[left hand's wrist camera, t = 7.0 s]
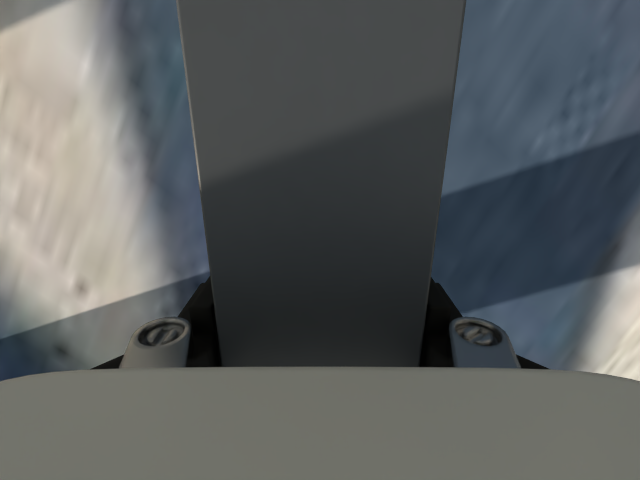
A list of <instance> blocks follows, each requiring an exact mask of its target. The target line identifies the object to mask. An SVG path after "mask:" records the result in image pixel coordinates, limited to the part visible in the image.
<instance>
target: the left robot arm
mask: <svg viewBox="0 0 640 480" xmlns="http://www.w3.org/2000/svg"><path fill="white" fill-rule="evenodd" d="M0 480H640V381H636V380H632V379H628V378H622V377H617V376H612V375H606V374H598V373H590V372H581V371H566V370H551V369H548V368H546V367H544V366H541V365H539V364H537V363H534V362H532V361H530V360H528V359H525V358H523V357H521V356H518V355H516V354H515V352H514V349H513V347H512V344H511V342H510V339H509V337H508V335H507V334H506V332H505V331H504V330H503V329H501V328H500V327H499V326H497V325H495V324H494V323H492V322H489V321H486V320H484V319H480V318H475V317H462V315H461V314H460V312H459V311H458V309H457V308H456V307H455V305H454V304H453V302H452V301H451V299H450V298H449V297H448V295H447V294H446V292H445V291H444V289H443V288H442V286H441V285H440V284H439V283H435V282H434V280H433V279H432V278H430V286H429V294H428V301H427V309H426V317H425V325H424V332H423V340H422V348H421V356H420V364H419V367H222V365H221V356H220V348H219V340H218V332H217V324H216V316H215V308H214V300H213V292H212V284H211V276H210V277H209V278H208V280H207V281H206V283H202V284H201V285H200V286H199V287H198V289H197V290H196V291H195V293H194V294H193V296H192V297H191V299H190V300H189V301H188V303H187V304H186V306H185V307H184V309H183V310H182V311H181V313H180V314H179V316H178V317H165V318H160V319H156V320H154V321H151V322H148V323H146V324H145V325H143V326H141V327H140V328H139V329H137V330H136V331H135V332H134V334H133V335H132V337H131V339H130V342H129V344H128V347H127V349H126V352H125V354H124V355H122V356H120V357H117V358H115V359H113V360H111V361H108V362H106V363H104V364H101V365H99V366H97V367H94V368H92V369H90V370H74V371H60V372H49V373H42V374H35V375H28V376H23V377H18V378H13V379H8V380H3V381H0Z"/></svg>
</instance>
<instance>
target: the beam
mask: <svg viewBox="0 0 640 480" xmlns="http://www.w3.org/2000/svg"><path fill="white" fill-rule="evenodd" d="M176 3H177V11H178V19H179V27H180V35H181V43H182V51H183V59H184V67H185V75H186V83H187V91H188V99H189V107H190V115H191V123H192V131H193V139H194V148H195V156H196V164H197V172H198V180H199V188H200V196H201V204H202V212H203V220H204V228H205V236H206V244H207V252H208V260H209V268H210V276H211V284H212V292H213V300H214V308H215V316H216V324H217V332H218V340H219V348H220V356H221V365H222V367H419V364H420V356H421V348H422V340H423V332H424V325H425V317H426V309H427V301H428V294H429V286H430V278H431V270H432V262H433V255H434V247H435V239H436V231H437V223H438V216H439V208H440V200H441V192H442V185H443V177H444V169H445V161H446V153H447V146H448V138H449V130H450V122H451V115H452V107H453V99H454V91H455V83H456V76H457V68H458V60H459V52H460V44H461V37H462V29H463V21H464V13H465V6H466V0H176Z"/></svg>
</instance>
